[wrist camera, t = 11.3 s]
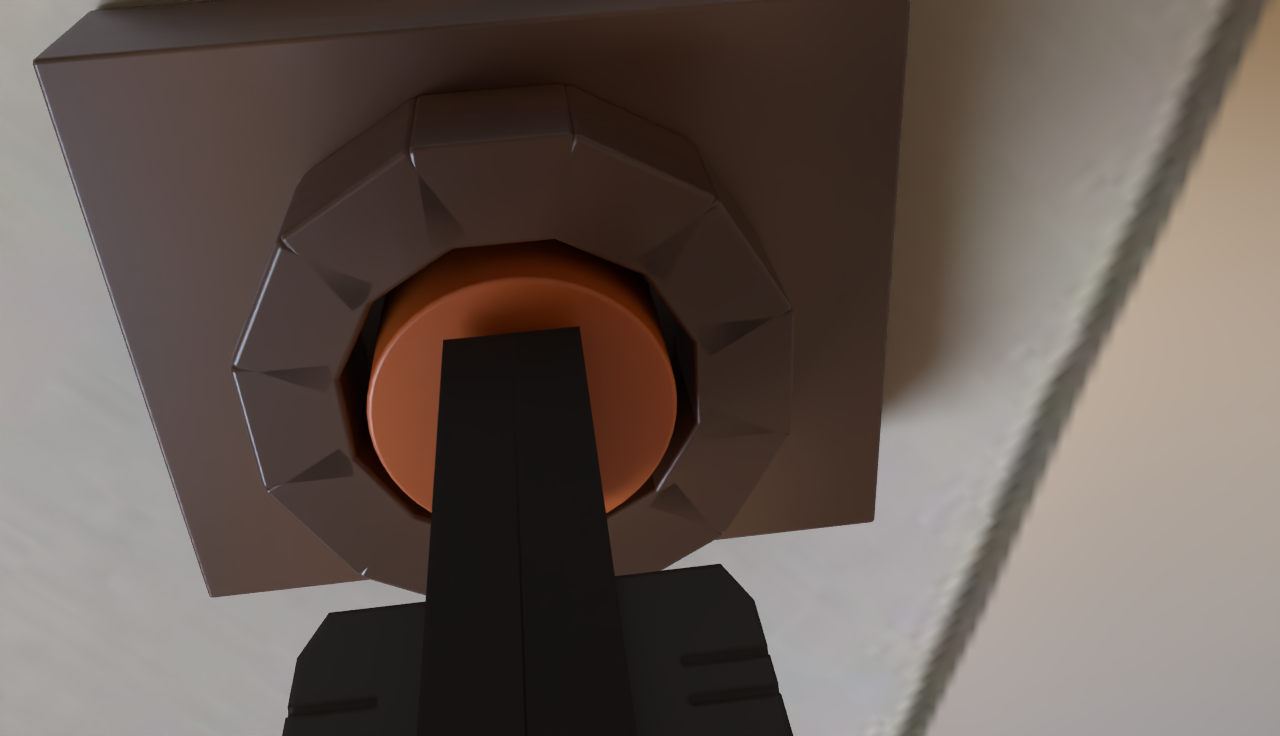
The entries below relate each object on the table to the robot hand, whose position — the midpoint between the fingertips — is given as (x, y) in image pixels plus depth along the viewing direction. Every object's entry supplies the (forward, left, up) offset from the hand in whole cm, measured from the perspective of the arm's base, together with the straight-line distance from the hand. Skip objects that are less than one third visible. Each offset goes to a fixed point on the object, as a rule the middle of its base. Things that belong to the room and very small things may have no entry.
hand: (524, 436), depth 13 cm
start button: (0, 0, -2) cm, 2 cm away
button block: (0, 0, -5) cm, 5 cm away
